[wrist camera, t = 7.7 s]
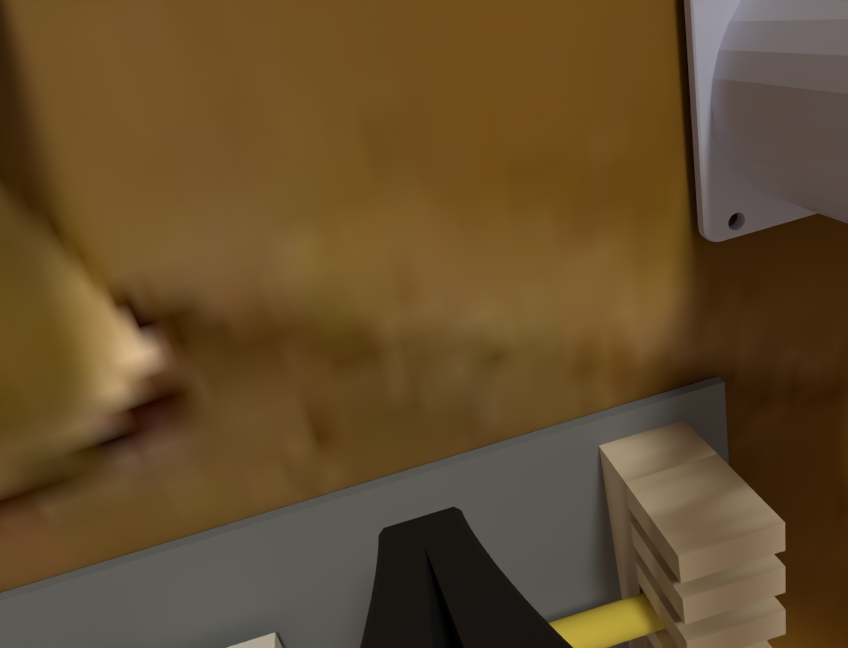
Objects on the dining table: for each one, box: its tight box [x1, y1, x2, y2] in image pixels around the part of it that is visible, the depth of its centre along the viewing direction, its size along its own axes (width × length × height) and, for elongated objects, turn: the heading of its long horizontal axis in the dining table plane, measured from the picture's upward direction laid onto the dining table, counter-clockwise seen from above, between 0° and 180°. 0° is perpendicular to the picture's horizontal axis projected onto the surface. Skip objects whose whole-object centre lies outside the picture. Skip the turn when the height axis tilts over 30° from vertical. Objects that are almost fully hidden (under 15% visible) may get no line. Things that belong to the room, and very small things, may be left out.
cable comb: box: [599, 420, 786, 648], centre depth 22 cm, size 3×10×5 cm, turn 14°
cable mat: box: [0, 376, 729, 648], centre depth 24 cm, size 27×12×1 cm, turn 104°
